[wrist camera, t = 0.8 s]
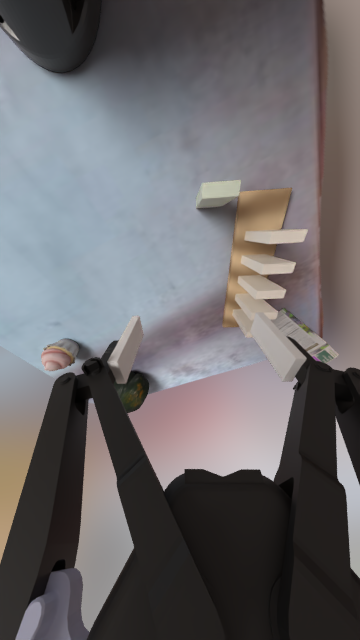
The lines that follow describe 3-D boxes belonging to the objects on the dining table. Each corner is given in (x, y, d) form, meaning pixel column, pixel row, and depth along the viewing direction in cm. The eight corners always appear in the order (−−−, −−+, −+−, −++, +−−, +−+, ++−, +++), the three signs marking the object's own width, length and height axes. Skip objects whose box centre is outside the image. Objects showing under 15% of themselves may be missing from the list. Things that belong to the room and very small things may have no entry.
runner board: (238, 193, 27) (241, 191, 26) (288, 189, 26) (292, 187, 25) (222, 325, 43) (223, 327, 42) (252, 323, 42) (254, 326, 41)
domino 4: (241, 255, 31) (263, 264, 23) (265, 254, 31) (296, 262, 23) (240, 263, 32) (261, 274, 24) (263, 261, 32) (292, 273, 23)
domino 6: (235, 293, 36) (251, 313, 28) (255, 292, 36) (278, 312, 27) (234, 299, 37) (250, 320, 28) (254, 298, 37) (275, 319, 28)
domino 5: (238, 276, 34) (257, 291, 25) (260, 274, 33) (286, 289, 25) (237, 282, 34) (255, 299, 26) (258, 281, 34) (283, 298, 26)
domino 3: (245, 231, 29) (272, 231, 20) (270, 229, 29) (308, 229, 20) (244, 240, 30) (268, 244, 21) (268, 238, 29) (303, 242, 21)
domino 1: (196, 197, 27) (202, 183, 19) (222, 195, 27) (240, 179, 18) (196, 208, 28) (202, 198, 20) (221, 206, 28) (238, 195, 19)
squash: (157, 400, 55) (134, 422, 41) (126, 405, 59) (95, 427, 45) (149, 363, 58) (125, 372, 44) (120, 371, 62) (89, 381, 48)
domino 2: (233, 309, 38) (247, 331, 30) (251, 308, 38) (271, 330, 30) (232, 314, 39) (246, 337, 31) (250, 313, 39) (269, 336, 31)
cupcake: (51, 332, 45) (20, 355, 37) (81, 337, 46) (59, 361, 37) (58, 353, 50) (33, 378, 42) (86, 357, 51) (67, 382, 42)
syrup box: (294, 317, 41) (343, 355, 29) (276, 331, 44) (313, 370, 31) (283, 307, 39) (329, 342, 27) (265, 321, 42) (299, 359, 30)
